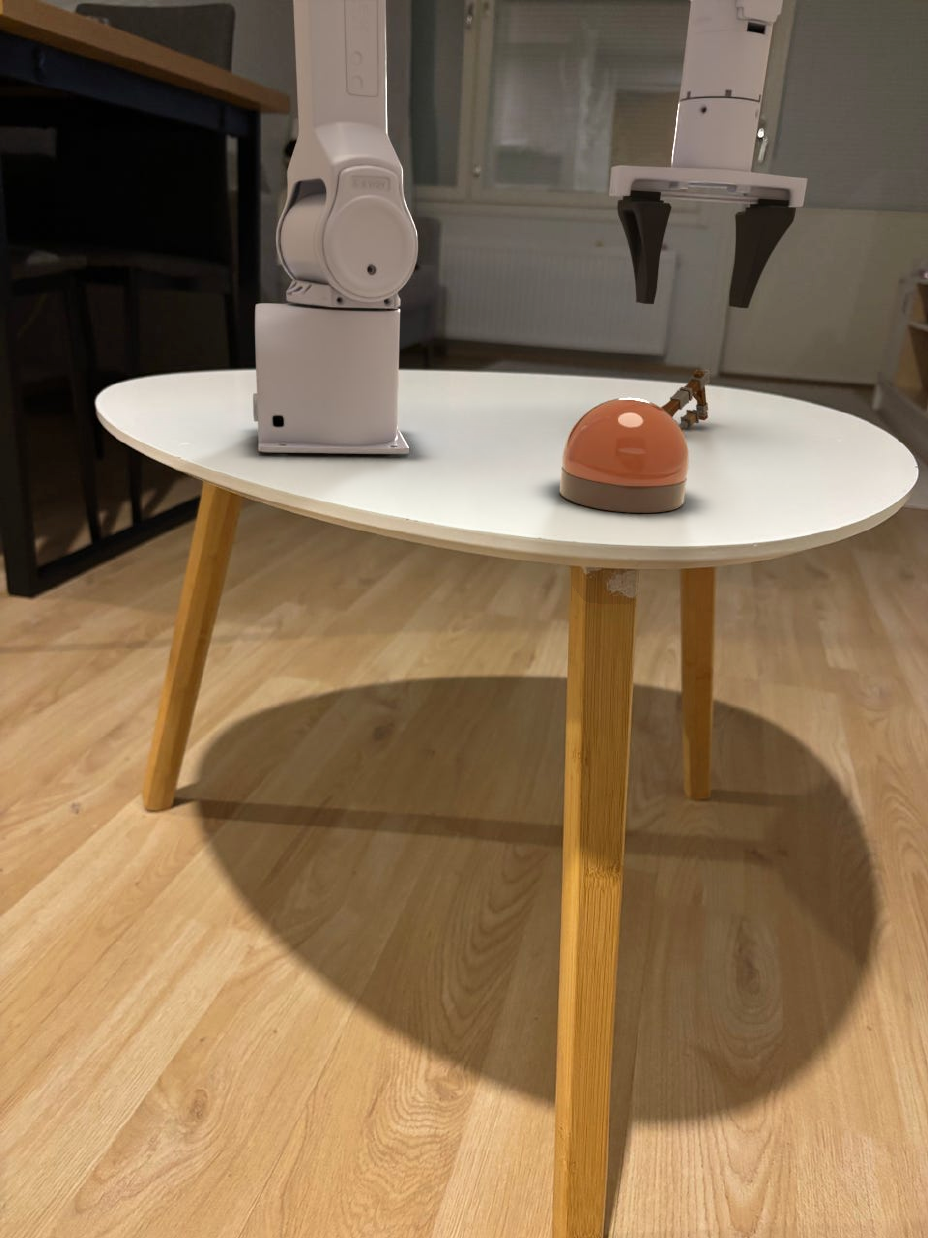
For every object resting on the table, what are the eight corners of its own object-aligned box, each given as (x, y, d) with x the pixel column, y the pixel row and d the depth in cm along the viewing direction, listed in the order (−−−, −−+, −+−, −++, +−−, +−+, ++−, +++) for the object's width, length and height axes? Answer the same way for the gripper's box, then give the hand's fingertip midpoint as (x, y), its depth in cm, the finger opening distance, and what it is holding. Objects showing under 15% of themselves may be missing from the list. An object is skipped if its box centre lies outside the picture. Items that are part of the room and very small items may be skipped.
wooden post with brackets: (719, 413, 76) (717, 363, 73) (668, 463, 72) (663, 412, 69) (700, 410, 77) (697, 361, 74) (649, 459, 73) (643, 409, 70)
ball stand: (576, 540, 49) (590, 407, 46) (543, 505, 55) (553, 387, 52) (699, 540, 50) (719, 411, 47) (653, 505, 56) (668, 390, 54)
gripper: (785, 118, 70) (755, 305, 75) (604, 103, 67) (586, 297, 72) (835, 106, 63) (798, 311, 68) (637, 89, 61) (614, 303, 66)
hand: (692, 305), depth 70 cm, fingers open, 7 cm apart
